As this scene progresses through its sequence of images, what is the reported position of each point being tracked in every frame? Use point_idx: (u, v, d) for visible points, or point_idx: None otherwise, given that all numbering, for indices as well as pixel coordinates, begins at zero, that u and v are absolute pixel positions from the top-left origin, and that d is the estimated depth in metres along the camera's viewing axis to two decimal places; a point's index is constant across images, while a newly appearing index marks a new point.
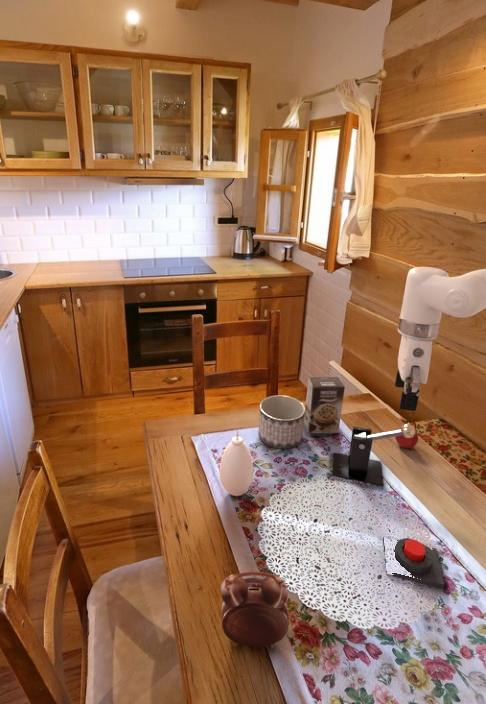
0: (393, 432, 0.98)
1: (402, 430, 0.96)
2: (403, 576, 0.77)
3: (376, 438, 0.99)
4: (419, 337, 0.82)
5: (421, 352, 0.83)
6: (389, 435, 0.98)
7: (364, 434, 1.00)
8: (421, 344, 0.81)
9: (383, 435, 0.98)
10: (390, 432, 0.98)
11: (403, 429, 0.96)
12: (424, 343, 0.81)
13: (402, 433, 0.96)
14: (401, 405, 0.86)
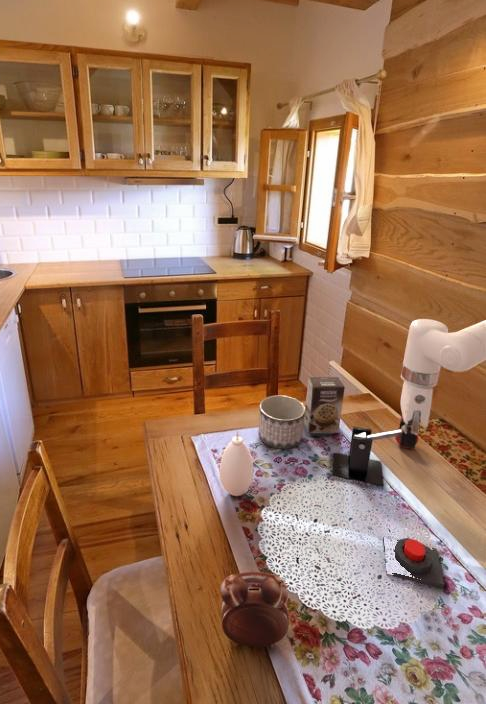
0: (393, 432, 0.98)
1: (402, 430, 0.96)
2: (403, 576, 0.77)
3: (376, 438, 0.99)
4: (420, 385, 0.88)
5: (422, 398, 0.89)
6: (389, 435, 0.98)
7: (364, 434, 1.00)
8: (422, 391, 0.88)
9: (383, 435, 0.98)
10: (390, 432, 0.98)
11: (403, 429, 0.96)
12: (425, 390, 0.88)
13: None
14: (401, 442, 0.96)
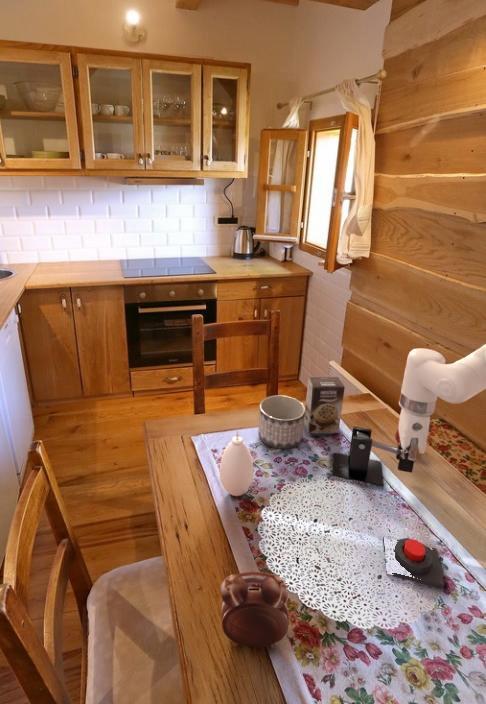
0: (394, 449, 0.99)
1: None
2: (403, 576, 0.77)
3: (376, 445, 1.00)
4: (418, 413, 0.91)
5: (420, 426, 0.91)
6: (389, 449, 0.99)
7: (367, 436, 1.00)
8: (419, 419, 0.90)
9: (384, 446, 0.99)
10: (391, 447, 0.99)
11: None
12: (422, 418, 0.90)
13: None
14: (399, 467, 0.98)
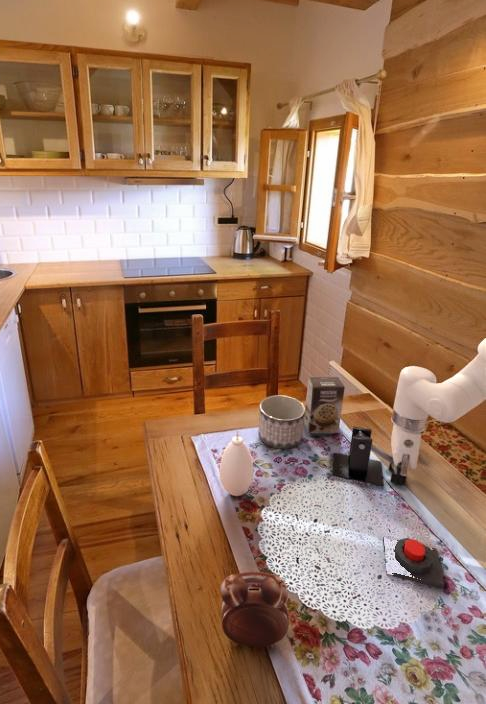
0: (389, 457, 1.00)
1: None
2: (403, 576, 0.77)
3: (373, 449, 1.00)
4: (410, 430, 0.92)
5: (411, 442, 0.93)
6: (384, 456, 1.00)
7: None
8: (411, 436, 0.92)
9: (380, 452, 1.00)
10: (387, 455, 1.00)
11: None
12: (413, 435, 0.92)
13: None
14: None
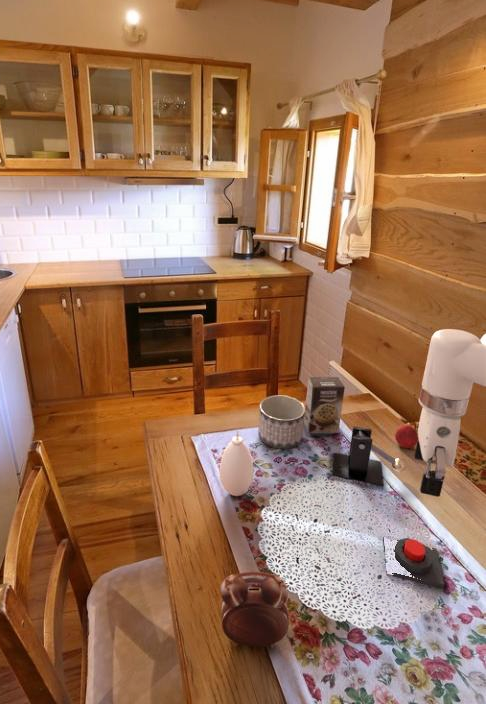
0: (389, 457, 1.00)
1: (397, 462, 1.00)
2: (403, 576, 0.77)
3: (373, 449, 1.00)
4: (445, 413, 0.69)
5: (447, 430, 0.70)
6: (384, 456, 1.00)
7: None
8: (447, 422, 0.68)
9: (380, 452, 1.00)
10: (387, 455, 1.00)
11: (399, 462, 0.99)
12: (450, 421, 0.68)
13: (395, 463, 1.00)
14: (422, 489, 0.73)
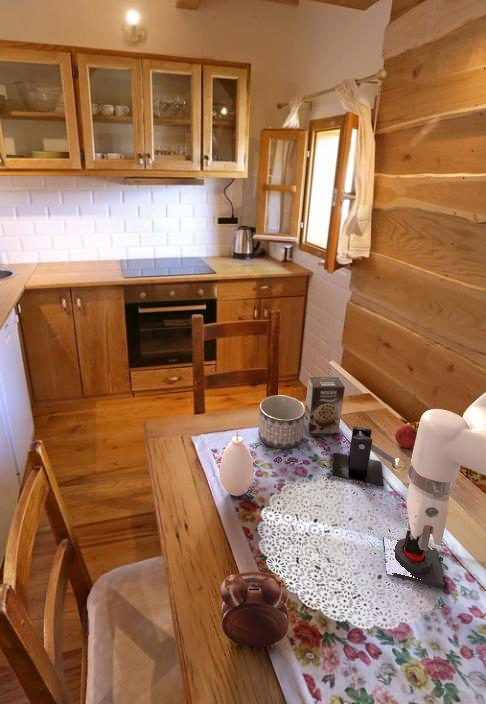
0: (389, 457, 1.00)
1: (397, 462, 1.00)
2: (403, 576, 0.77)
3: (373, 449, 1.00)
4: (433, 494, 0.70)
5: (435, 510, 0.71)
6: (384, 456, 1.00)
7: None
8: (435, 503, 0.69)
9: (380, 452, 1.00)
10: (387, 455, 1.00)
11: (399, 462, 0.99)
12: (439, 502, 0.69)
13: (395, 463, 1.00)
14: (406, 548, 0.79)
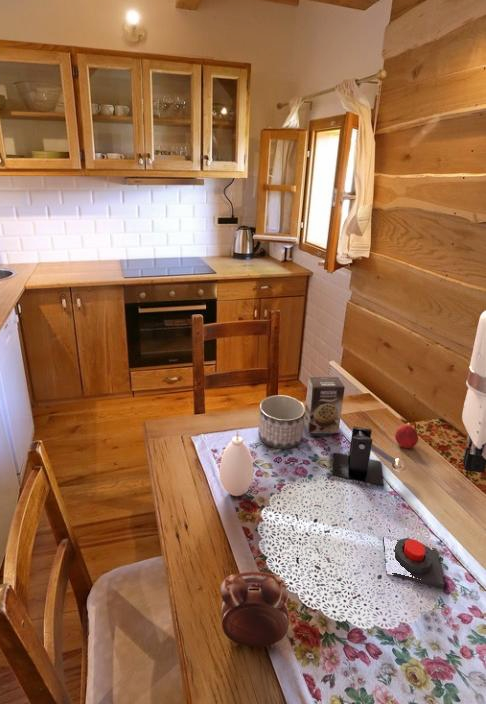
0: (389, 457, 1.00)
1: (397, 462, 1.00)
2: (403, 576, 0.77)
3: (373, 449, 1.00)
4: None
5: None
6: (384, 456, 1.00)
7: None
8: None
9: (380, 452, 1.00)
10: (387, 455, 1.00)
11: (399, 462, 0.99)
12: None
13: (395, 463, 1.00)
14: (467, 466, 0.75)
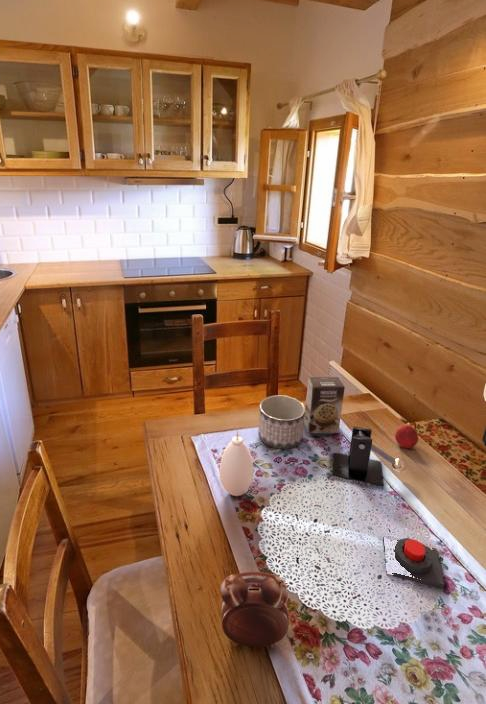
0: (389, 457, 1.00)
1: (397, 462, 1.00)
2: (403, 576, 0.77)
3: (373, 449, 1.00)
4: None
5: None
6: (384, 456, 1.00)
7: None
8: None
9: (380, 452, 1.00)
10: (387, 455, 1.00)
11: (399, 462, 0.99)
12: None
13: (395, 463, 1.00)
14: None
